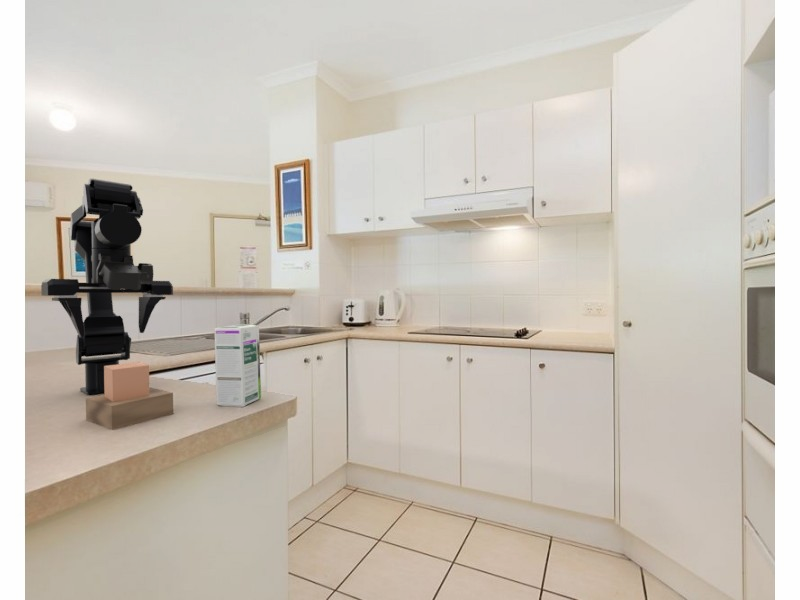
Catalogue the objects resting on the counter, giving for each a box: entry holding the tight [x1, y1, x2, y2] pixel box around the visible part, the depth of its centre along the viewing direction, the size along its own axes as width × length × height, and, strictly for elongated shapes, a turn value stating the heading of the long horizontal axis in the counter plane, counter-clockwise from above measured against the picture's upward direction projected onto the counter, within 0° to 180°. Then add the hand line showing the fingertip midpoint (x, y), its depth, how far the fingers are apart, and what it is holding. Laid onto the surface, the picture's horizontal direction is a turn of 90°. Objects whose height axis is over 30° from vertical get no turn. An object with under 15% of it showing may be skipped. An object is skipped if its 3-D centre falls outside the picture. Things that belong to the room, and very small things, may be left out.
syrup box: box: [213, 323, 262, 408], centre depth 73 cm, size 6×6×14 cm
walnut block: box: [85, 386, 174, 431], centre depth 64 cm, size 9×9×4 cm
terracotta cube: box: [103, 361, 150, 402], centre depth 64 cm, size 5×5×5 cm
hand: (113, 334), depth 71 cm, fingers open, 9 cm apart
